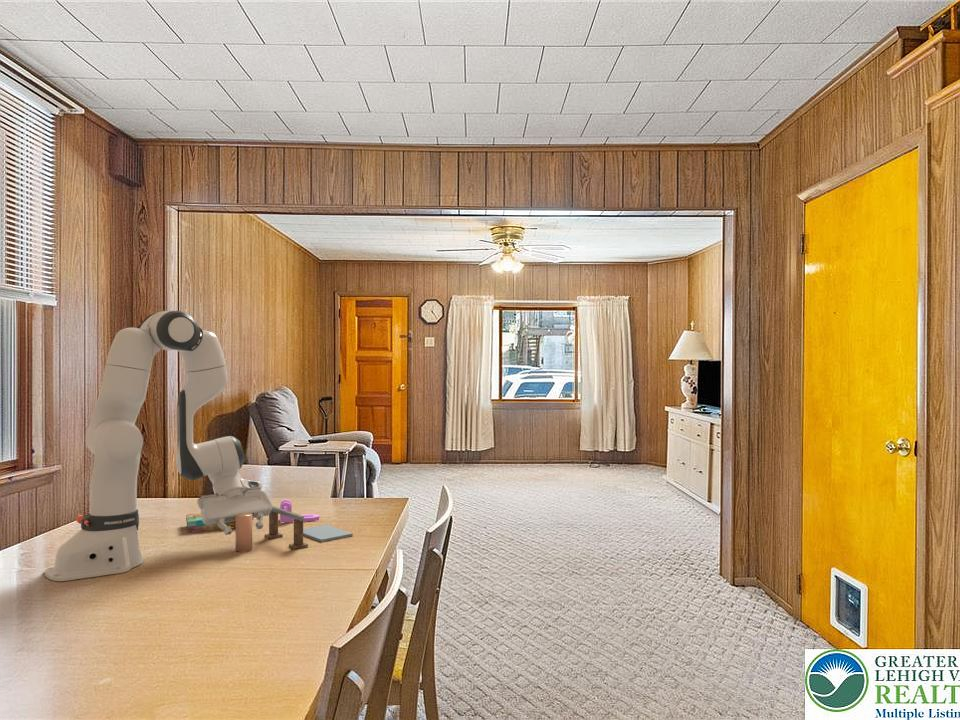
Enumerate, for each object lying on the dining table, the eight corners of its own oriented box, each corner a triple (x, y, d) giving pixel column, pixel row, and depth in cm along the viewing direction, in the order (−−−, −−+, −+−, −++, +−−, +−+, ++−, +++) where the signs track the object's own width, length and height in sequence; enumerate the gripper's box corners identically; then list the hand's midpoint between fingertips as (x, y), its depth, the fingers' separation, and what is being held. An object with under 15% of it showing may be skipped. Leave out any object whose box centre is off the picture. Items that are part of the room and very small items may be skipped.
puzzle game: (186, 512, 227) (249, 506, 235) (186, 526, 227) (249, 520, 235) (187, 519, 216) (253, 513, 225) (187, 534, 216) (253, 527, 225)
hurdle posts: (295, 549, 197) (295, 521, 197) (264, 536, 212) (264, 510, 212) (307, 546, 200) (308, 519, 200) (276, 534, 214) (276, 509, 214)
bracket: (280, 523, 230) (280, 503, 230) (280, 520, 235) (280, 499, 235) (319, 521, 233) (319, 500, 233) (319, 517, 239) (319, 497, 239)
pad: (321, 542, 205) (321, 539, 205) (295, 532, 217) (295, 530, 217) (352, 536, 212) (352, 533, 212) (326, 527, 224) (326, 524, 224)
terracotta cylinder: (239, 552, 194) (239, 517, 194) (232, 549, 197) (232, 515, 197) (255, 549, 197) (255, 515, 197) (248, 546, 200) (248, 512, 200)
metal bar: (299, 521, 198) (299, 516, 198) (268, 510, 213) (268, 506, 213) (303, 520, 199) (303, 516, 199) (272, 509, 214) (272, 505, 214)
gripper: (198, 490, 195) (211, 530, 188) (266, 481, 209) (280, 518, 202) (192, 503, 198) (205, 543, 191) (259, 494, 212) (274, 531, 205)
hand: (244, 530), depth 197 cm, fingers open, 8 cm apart
